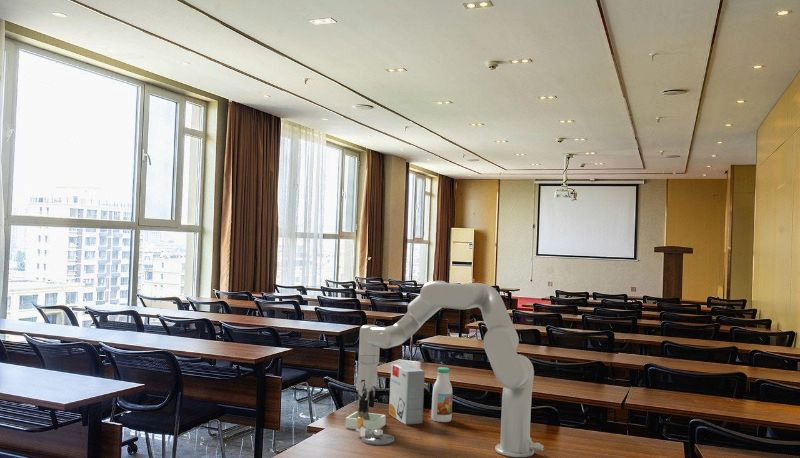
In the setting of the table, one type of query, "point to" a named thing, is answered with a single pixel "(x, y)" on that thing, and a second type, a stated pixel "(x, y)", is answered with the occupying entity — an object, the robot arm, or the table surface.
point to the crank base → (373, 440)
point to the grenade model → (365, 413)
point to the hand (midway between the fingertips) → (366, 408)
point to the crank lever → (376, 433)
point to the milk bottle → (442, 397)
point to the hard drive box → (406, 393)
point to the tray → (366, 421)
